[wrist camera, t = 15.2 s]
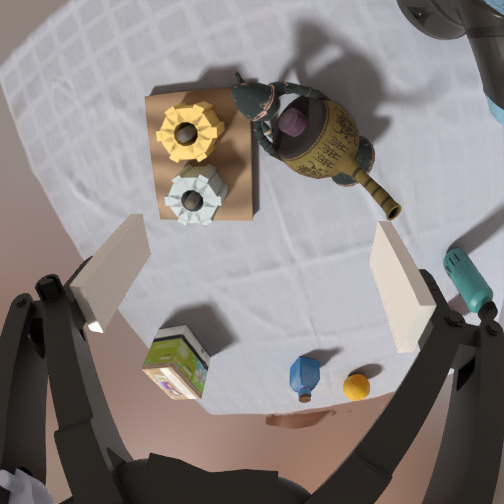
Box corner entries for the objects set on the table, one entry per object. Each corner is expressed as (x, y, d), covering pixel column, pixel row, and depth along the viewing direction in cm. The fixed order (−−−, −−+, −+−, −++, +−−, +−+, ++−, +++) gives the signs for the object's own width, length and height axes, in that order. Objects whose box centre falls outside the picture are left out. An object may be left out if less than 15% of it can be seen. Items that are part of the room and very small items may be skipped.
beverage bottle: (448, 240, 54) (491, 300, 37) (467, 248, 54) (508, 306, 38) (434, 263, 57) (470, 327, 41) (453, 270, 58) (489, 331, 41)
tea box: (212, 357, 82) (202, 400, 70) (184, 360, 85) (171, 400, 73) (186, 323, 75) (170, 368, 63) (157, 328, 78) (139, 370, 66)
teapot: (345, 112, 47) (239, 40, 34) (442, 193, 31) (327, 79, 18) (307, 161, 53) (196, 106, 40) (382, 258, 37) (236, 203, 24)
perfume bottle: (319, 361, 79) (320, 396, 69) (308, 372, 82) (309, 406, 72) (299, 356, 78) (299, 392, 68) (290, 367, 82) (289, 402, 72)
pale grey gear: (167, 178, 51) (155, 191, 46) (207, 153, 48) (197, 163, 43) (196, 219, 55) (187, 235, 50) (236, 197, 52) (231, 211, 47)
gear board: (149, 95, 45) (125, 101, 37) (250, 87, 43) (243, 88, 36) (164, 214, 58) (147, 237, 50) (253, 216, 56) (248, 240, 49)
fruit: (336, 378, 83) (338, 400, 77) (356, 366, 79) (359, 388, 73) (354, 386, 85) (356, 406, 79) (373, 375, 81) (377, 396, 75)
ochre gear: (172, 153, 49) (159, 163, 44) (168, 104, 44) (153, 108, 39) (225, 151, 48) (218, 161, 43) (223, 99, 43) (215, 102, 38)
